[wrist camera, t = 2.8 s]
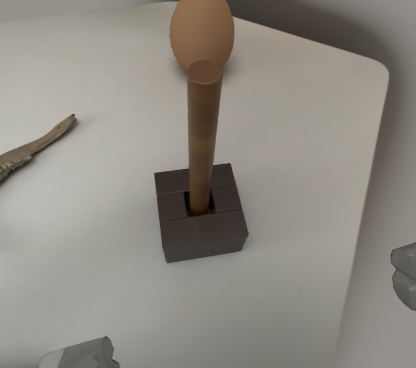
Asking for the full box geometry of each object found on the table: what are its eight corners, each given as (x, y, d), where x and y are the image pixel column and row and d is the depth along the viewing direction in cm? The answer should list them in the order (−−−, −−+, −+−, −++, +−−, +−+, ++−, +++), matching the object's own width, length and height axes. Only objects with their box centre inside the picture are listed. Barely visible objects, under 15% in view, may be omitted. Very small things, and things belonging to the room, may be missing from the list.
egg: (191, 98, 41) (191, 19, 32) (161, 62, 45) (153, -21, 35) (241, 77, 44) (255, -4, 34) (209, 44, 47) (214, -38, 37)
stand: (241, 251, 31) (248, 234, 27) (166, 263, 31) (162, 248, 26) (225, 186, 35) (230, 162, 31) (159, 195, 34) (154, 172, 30)
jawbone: (-95, 257, 30) (-115, 250, 28) (19, 108, 40) (10, 96, 38) (-16, 279, 29) (-32, 273, 27) (81, 119, 39) (75, 108, 37)
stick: (210, 224, 33) (230, 74, 15) (196, 233, 32) (200, 89, 15) (200, 211, 33) (208, 54, 16) (186, 220, 33) (179, 67, 15)
